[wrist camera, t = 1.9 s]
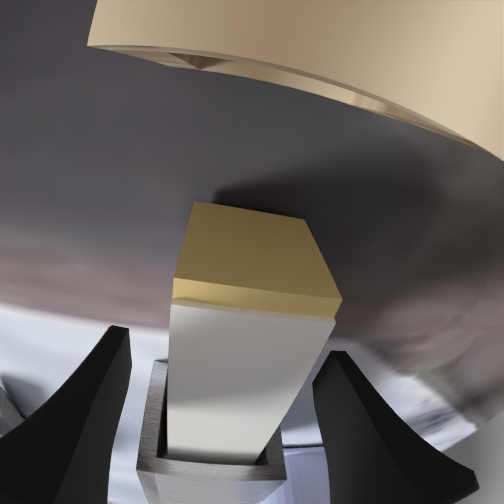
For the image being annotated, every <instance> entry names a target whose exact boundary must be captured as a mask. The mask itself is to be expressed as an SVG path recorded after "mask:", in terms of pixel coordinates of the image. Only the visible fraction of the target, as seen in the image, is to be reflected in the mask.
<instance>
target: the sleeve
mask: <svg viewBox="0 0 504 504" xmlns="http://www.w3.org/2000/svg"><path fill="white" fill-rule="evenodd" d="M167 390H168V363H165V362H159V361H154V362H153V367H152V373H151V378H150V383H149V389H148V394H147V400H146V406H145V411H144V417H143V424H142V430H141V437H140V443H139V450H138V458H137V465H136V471H137V474H138V477H139V480H140V482H141V485H142V488H143V490H144V493H145V495H146V498H147V500H148V503H149V504H260V503H261V502H262V501H263V500H265V499H266V498H267V497H268V496H269V495H271V494H272V493H273V492H274V491H275V490H276V489H278V488H279V487H280V486H281V485H282V484H283V483H284V482H286V481H287V474H286V466H285V459H284V452H283V445H282V437H281V430H280V424H279V426H278V427H277V429H276V430H275V432H274V433H273V435H272V437H271V438H270V440H269V441H268V443H267V444H266V446H265V447H264V449H263V450H262V452H261V453H260V455H259V456H258V458H257V459H256V461H255V462H254V463H253V465H252V466H242V465H219V464H205V463H194V462H184V461H176V460H169V459H168V435H167Z"/></svg>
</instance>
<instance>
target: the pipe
mask: <svg viewBox="0 0 504 504" xmlns="http://www.w3.org/2000/svg"><path fill="white" fill-rule="evenodd" d="M24 420H26V419H24V418H23V417H22V416H21V414H20V413H19V411H18V410H17V408H16V407H15V405H14V404H13V402H12V401H11V400H10V398H9V397H8V395H7V394H6V392H5V391H4V390H3V389H2V388H1V387H0V438H1V437H2V436H4V435H5V434H7V433H8V432H9V431H11V430H12V429H14V428H15V427H16V426H18V425H19V424H20V423H22V422H23V421H24Z"/></svg>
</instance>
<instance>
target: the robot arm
mask: <svg viewBox="0 0 504 504" xmlns="http://www.w3.org/2000/svg"><path fill="white" fill-rule="evenodd" d="M131 368H132V360H131V350H130V338H129V328H124V327H119V326H114V325H112V326H110V327H109V328H108V329H107V331H106V332H105V334H104V335H103V336H102V338H101V339H100V341H99V342H98V343H97V344H96V346H95V347H94V348H93V350H92V351H91V352H90V353H89V355H88V356H87V357H86V358H85V360H84V361H83V362H82V363H81V364H80V366H79V367H78V368H77V369H76V370H75V372H74V373H73V374H72V375H71V376H70V377H69V378H68V379H67V380H66V382H65V383H64V384H63V385H62V386H61V387H60V388H59V389H58V390H57V391H56V392H55V393H54V394H53V395H52V396H51V397H50V398H49V399H48V400H47V401H46V402H45V403H44V404H43V405H42V406H41V407H40V408H38V409H37V410H36V411H35V412H34V413H33V414H31V415H30V416H29V417H28V418H27V419H26V420H24V421H23V422H22V423H20V424H19V425H18V426H16V427H15V428H14V429H12V430H11V431H9V432H8V433H7V434H5V435H4V436H2V437H1V438H0V504H107V497H108V482H109V471H110V462H111V454H112V448H113V443H114V438H115V435H116V431H117V427H118V423H119V420H120V416H121V412H122V409H123V405H124V402H125V398H126V394H127V391H128V386H129V380H130V374H131ZM312 386H313V397H314V406H315V411H316V416H317V420H318V424H319V428H320V433H321V437H322V441H323V445H324V447H311V448H289V449H283V452H284V459H285V466H286V474H287V481H286V482H284V483H283V484H282V485H281V486H280V487H279V488H278V489H276V490H275V491H274V492H273V493H272V494H271V495H269V496H268V497H267V498H266V499H265V500H263V501H262V502H261V503H260V504H454V503H456V502H458V501H460V500H462V499H463V498H465V497H467V496H469V495H470V494H472V493H474V492H476V491H477V490H478V489H479V484H478V481H477V479H476V476H475V473H474V471H473V470H471V469H469V468H467V467H465V466H463V465H461V464H459V463H457V462H455V461H454V460H452V459H451V458H449V457H447V456H446V455H444V454H443V453H441V452H440V451H438V450H437V449H435V448H434V447H433V446H431V445H430V444H429V443H428V442H426V441H425V440H424V439H423V438H421V437H420V436H419V435H418V434H417V433H416V432H414V431H413V430H412V429H411V428H410V427H409V426H408V425H407V424H406V423H405V422H404V421H403V420H402V419H401V418H400V417H399V416H398V415H397V414H396V413H395V412H394V411H393V409H392V408H391V407H390V406H389V405H388V404H387V403H386V402H385V400H384V399H383V398H382V397H381V396H380V394H379V393H378V392H377V391H376V390H375V388H374V387H373V386H372V385H371V383H370V382H369V381H368V379H367V378H366V377H365V376H364V374H363V373H362V372H361V370H360V369H359V368H358V366H357V365H356V364H355V363H354V361H353V360H352V359H351V357H350V356H349V355H348V354H347V353H346V351H331V352H330V353H329V355H328V357H327V359H326V360H325V362H324V364H323V366H322V367H321V369H320V371H319V372H318V374H317V376H316V377H315V379H314V381H313V382H312Z"/></svg>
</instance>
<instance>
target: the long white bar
mask: <svg viewBox="0 0 504 504" xmlns="http://www.w3.org/2000/svg"><path fill="white" fill-rule="evenodd" d="M342 300H343V299H342V297H341V295H340V293H339V290H338V288H337V286H336V284H335V282H334V280H333V278H332V275H331V273H330V271H329V269H328V267H327V265H326V263H325V261H324V259H323V256H322V254H321V252H320V250H319V248H318V246H317V244H316V242H315V240H314V238H313V236H312V234H311V232H310V230H309V228H308V226H307V224H306V222H305V220H303V219H298V218H292V217H287V216H281V215H276V214H270V213H265V212H259V211H253V210H248V209H242V208H236V207H230V206H224V205H217V204H211V203H205V202H198V201H194V204H193V208H192V211H191V215H190V219H189V222H188V226H187V229H186V233H185V237H184V241H183V244H182V248H181V252H180V256H179V260H178V264H177V268H176V272H175V276H174V284H173V297H172V303H171V314H170V332H169V354H168V390H167V435H168V459H169V460H176V461H184V462H194V463H205V464H219V465H242V466H252V465H253V463H254V462H255V461H256V459H257V458H258V456H259V455H260V453H261V452H262V450H263V449H264V447H265V446H266V444H267V443H268V441H269V440H270V438H271V437H272V435H273V433H274V432H275V430H276V429H277V427H278V426H279V424H280V422H281V421H282V419H283V418H284V416H285V414H286V413H287V411H288V409H289V408H290V406H291V404H292V403H293V401H294V399H295V398H296V396H297V394H298V393H299V391H300V389H301V387H302V386H303V384H304V382H305V380H306V379H307V377H308V375H309V373H310V372H311V370H312V368H313V366H314V364H315V362H316V361H317V359H318V357H319V355H320V353H321V351H322V349H323V348H324V346H325V344H326V342H327V340H328V338H329V336H330V334H331V332H332V330H333V328H334V326H335V324H336V322H335V319H334V317H335V315H336V313H337V311H338V308H339V306H340V304H341V302H342Z"/></svg>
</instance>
